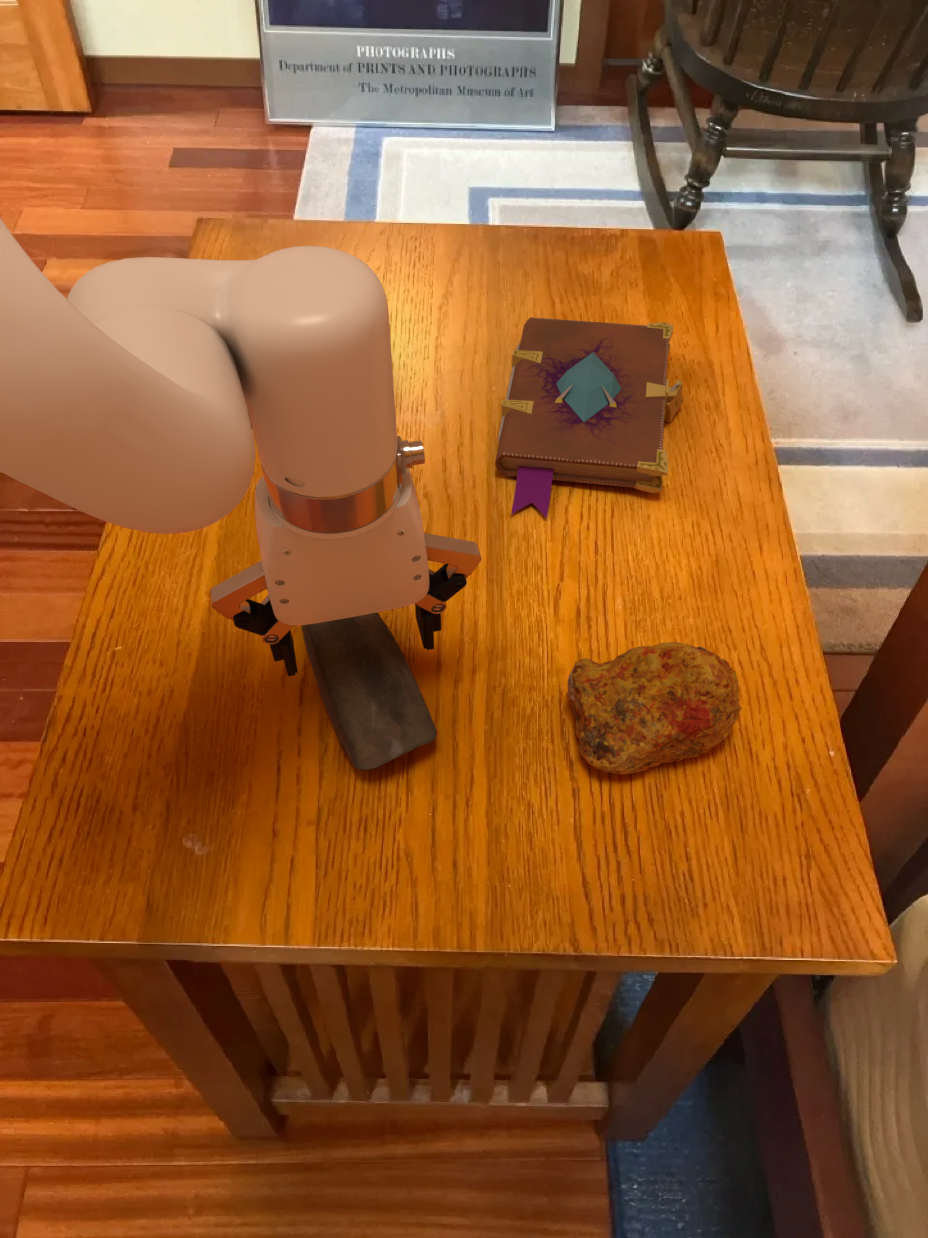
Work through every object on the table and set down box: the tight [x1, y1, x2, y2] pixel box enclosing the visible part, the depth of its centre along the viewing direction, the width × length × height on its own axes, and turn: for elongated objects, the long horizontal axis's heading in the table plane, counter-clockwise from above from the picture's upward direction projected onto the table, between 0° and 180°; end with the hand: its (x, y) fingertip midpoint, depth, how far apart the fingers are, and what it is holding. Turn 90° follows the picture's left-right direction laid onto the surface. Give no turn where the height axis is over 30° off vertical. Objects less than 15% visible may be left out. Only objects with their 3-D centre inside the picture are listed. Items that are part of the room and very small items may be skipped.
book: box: [494, 316, 684, 519], centre depth 84 cm, size 16×25×5 cm, turn 171°
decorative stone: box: [301, 612, 438, 771], centre depth 67 cm, size 17×6×4 cm, turn 25°
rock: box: [566, 641, 742, 775], centre depth 65 cm, size 11×8×10 cm
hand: (358, 646), depth 66 cm, fingers open, 9 cm apart
